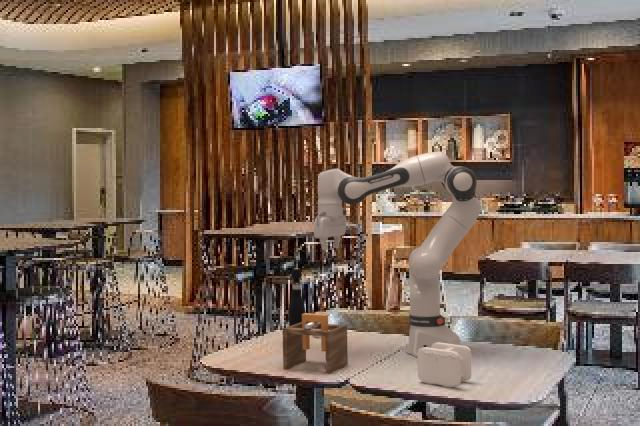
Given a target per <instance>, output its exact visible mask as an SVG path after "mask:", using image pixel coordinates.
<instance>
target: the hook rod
mask: <svg viewBox="0 0 640 426" xmlns="http://www.w3.org/2000/svg"><path fill="white" fill-rule="evenodd" d="M320 325H321V322H309V323H308V324H306V325H304V329H305V330H309V329H312V328H314V327H317V326H320Z"/></svg>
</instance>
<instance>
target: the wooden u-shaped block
mask: <svg viewBox="0 0 640 426" xmlns="http://www.w3.org/2000/svg"><path fill="white" fill-rule="evenodd" d="M311 322H321V330H328V324H329V314H327V315H326V314H315V313H310V312H309V313H307V312H305V313H304V314H302V328H303V329H304V325H306V324H308V323H311ZM328 331H329V330H328ZM310 336H311V335H302V345H303V350H306V351H307V350H309V349H310V348H311V345H310V343H311V342H310V340H311V339H310ZM320 340H321V341H320V342H321V349H320V350H321V352H324V353H326V342H325V337H324V336H321V338H320Z"/></svg>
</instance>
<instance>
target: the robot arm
mask: <svg viewBox="0 0 640 426" xmlns="http://www.w3.org/2000/svg"><path fill="white" fill-rule="evenodd" d="M433 182H434V183H435V182H440V183H441V185H442V187H443V188H444V190H445V191H446V192H447V193H448V194H450V195H451V196H452V202H451V204H450V205H449V207H448V208H447V209H446V210H445V211H444V213H443V214H442V216H440V218H439V220H438V221H437V222H436V224H435V225H434V226H433V227H432V228H431V230H430V231H429V234H428V235H427V236H426V238H425V239H424V240H423V242H422V244H420V246H419V247H416V248H415V249H413V250H412V252H411V253H410V255H409V258H408V273H409V274H408V277H409V309H410V310H409V313H410V314H409V315H408V316H409V317H408V327H409V328H408V329H409V334H408V335H409V336H408V343H407V348H406V351H405V352H406V353H407V354H409V355H412V356H413V357H415V358H418V350H419V349H420V348H423V347H429V348H431V347H432V345H433V344H434V343H437V342H440V343H447V344H455V345H462V342H461V338H460V336H459V335H458V334H457V333H456V332H454V331H453V330H452V329H451V328H450V327H448V326H447V325H446V320H447V316H443V314H441V292H440V279H439V275H440V274H439V273H440V271H441V270H442V269H443V268H444V266H445V265H446V263H447V261H448V260H449V259H450V257H451V255H452V254H453V252H454V251H455V249H456V248H457V246H458V245H459V244H460V243H461V241H462V240H463V239H464V238H465V237H466V235H467V234H468V233H469V231H470V230H471V229H472V227H473V226H474V224H475V223H476V221H477V219H478V217H479V216H480V213H482V212H481V211H482V205H481V202H480V200H479V199H478V198H477V197H475V196H476V190H477V177H476V175H475V173H474V171H473V170H472V169H470V168H469V167H466V166H455V165H452V163H451V160H450V158H449V156H448V155H447V154H446V153H445V152H443V151H433V152H426V153H421V154H417V155H414V156H410V157H409V158H407V159H404V160H402V161H400V162H398V163H397V164H396V165H395V166H393V167H392V168H390V169H388V170H386V171H382V172H379V173H376V174H373V175H369V176H366V177H358V176H354V175H350V174H348V173H346V172H344V171H342V170H341V169H340V168H338V167H334V168H333V167H332V168H328V169H324V170H322V171H320V172H319V174H318V179H317V195H318V200H317V216H316V218H315V219H314V225H313V236H314V239H319V243H320V245H321V250H322V251H327V250H328V244H327V238H333V239H334V240H333V243H332V248H333V249H338V248H339V247H340V246H339V245H340V241H341V236H345V234H346V231H347V218H346V216H347V215H348V211H347V209H346V208H344V207H343V206H342V203H345V204H347V205H357V204H360V203H361V202H362V201H363V200H365V198H367V197H369V196H370V195H372V194H375V193H379V192H381V191H385V190H388V189H392V188H393V189H394V188H413V187H419V186H423V185H427V184H430V183H433Z"/></svg>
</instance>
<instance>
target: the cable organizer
mask: <svg viewBox="0 0 640 426" xmlns="http://www.w3.org/2000/svg"><path fill="white" fill-rule="evenodd" d="M417 377H418V379H419V380H420V381H421V382H424V384H427V385H432V384H433V385H440V386H441V387H444V388H450V389H451V388H454V387H458V386H460V384H461V383H465V382H466V381H467V382H468V381H469V380H471V379H472V350H471V349H470V348H469V347H468V346H467V345H462V344H461V345H455V344H447V343H440V342H437V343H434V344H433V345H432V347H431V348H429V347H423V348H420V349H419V350H418V357H417Z"/></svg>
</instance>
